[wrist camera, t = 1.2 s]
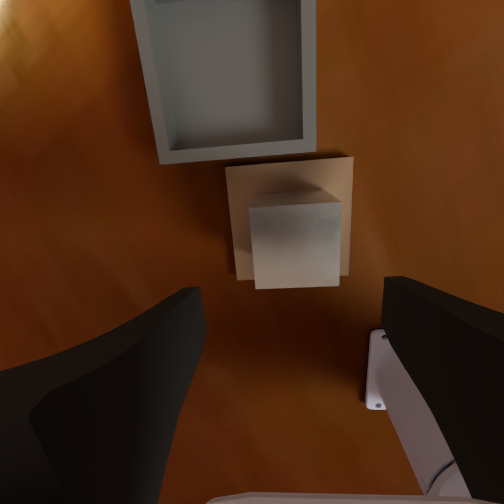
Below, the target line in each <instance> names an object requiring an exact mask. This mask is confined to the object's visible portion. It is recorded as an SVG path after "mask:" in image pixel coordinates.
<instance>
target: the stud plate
mask: <svg viewBox="0 0 504 504" xmlns="http://www.w3.org/2000/svg"><path fill="white" fill-rule="evenodd" d="M225 173H226V182H227V191H228V200H229V209H230V219H231V228H232V237H233V246H234V255H235V265H236V274H237V280H255V277H254V265H253V253H252V242H251V230H250V218H249V206H250V204H251V202H252V199H253V197H254V195H255V194H257V193H271V192H285V191H299V190H313V189H324V190H326V191H327V192H329V193H330V194H331V195H333V196H334V197H336V198H337V199H338V200H340V201H341V202H342V206H341V241H340V276H349V253H350V229H351V205H352V180H353V157H339V158H327V159H314V160H302V161H290V162H278V163H266V164H253V165H241V166H229V167H225Z"/></svg>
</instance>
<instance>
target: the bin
mask: <svg viewBox="0 0 504 504" xmlns="http://www.w3.org/2000/svg"><path fill="white" fill-rule="evenodd" d="M130 5H131V10H132V16H133V21H134V26H135V32H136V37H137V43H138V48H139V54H140V59H141V64H142V70H143V75H144V81H145V86H146V92H147V97H148V102H149V108H150V113H151V119H152V124H153V130H154V135H155V140H156V146H157V151H158V157H159V162H160V165H163V164H174V163H186V162H198V161H210V160H222V159H233V158H245V157H257V156H269V155H281V154H292V153H304V152H316V0H130Z"/></svg>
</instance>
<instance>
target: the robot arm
mask: <svg viewBox="0 0 504 504" xmlns="http://www.w3.org/2000/svg"><path fill="white" fill-rule="evenodd" d="M381 324H382V327H383V329H378V330H374V331H372V332H371V334H370V345H369V358H368V371H367V384H366V397H365V404H366V407H367V408H368V409H375V410H387V412H388V414H389V416H390V419H391V421H392V423H393V426H394V428H395V430H396V432H397V435H398V437H399V439H400V441H401V444H402V446H403V448H404V450H405V453H406V455H407V457H408V460H409V462H410V464H411V466H412V469H413V471H414V473H415V475H416V478H417V480H418V482H419V484H420V487H421V489H422V491H423V494H424V496H410V495H363V494H316V493H268V492H249V493H243V494H237V495H230V496H224V497H217V498H213V499H212V500H210V501H209V502H207V503H206V504H504V313H501V312H498V311H495V310H492V309H489V308H486V307H483V306H480V305H477V304H475V303H472V302H469V301H466V300H464V299H461V298H458V297H456V296H453V295H451V294H448V293H446V292H443V291H441V290H438V289H436V288H433V287H431V286H428V285H426V284H423V283H421V282H418V281H416V280H413V279H410V278H407V277H403V276H393V277H385V278H384V291H383V304H382V317H381ZM206 333H207V326H206V320H205V315H204V309H203V303H202V298H201V292H200V287H187V288H183V289H181V290H179V291H177V292H176V293H174V294H172V295H171V296H169V297H168V298H166V299H165V300H163V301H161V302H160V303H158V304H157V305H155V306H154V307H152V308H150V309H149V310H147V311H145V312H144V313H142V314H140V315H139V316H137V317H135V318H134V319H132V320H130V321H128V322H127V323H125V324H123V325H121V326H119V327H117V328H115V329H113V330H111V331H109V332H107V333H105V334H103V335H101V336H99V337H97V338H94V339H92V340H90V341H87V342H85V343H82V344H80V345H77V346H75V347H72V348H70V349H67V350H65V351H62V352H60V353H57V354H54V355H51V356H48V357H45V358H42V359H39V360H36V361H33V362H30V363H27V364H24V365H20V366H17V367H14V368H10V369H6V370H3V371H0V504H158V500H159V495H160V491H161V486H162V481H163V477H164V473H165V469H166V464H167V460H168V456H169V452H170V448H171V444H172V440H173V436H174V432H175V429H176V425H177V421H178V417H179V414H180V411H181V408H182V405H183V402H184V399H185V397H186V394H187V391H188V389H189V386H190V383H191V381H192V378H193V375H194V373H195V370H196V367H197V365H198V362H199V359H200V357H201V354H202V351H203V347H204V342H205V338H206ZM383 335H386V336H385V337H382V336H383ZM377 403H378V404H377Z"/></svg>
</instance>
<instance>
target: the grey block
mask: <svg viewBox="0 0 504 504" xmlns="http://www.w3.org/2000/svg"><path fill="white" fill-rule="evenodd" d="M341 206H342V202H341V201H340V200H338V199H337V198H336V197H334V196H333V195H331V194H330V193H329V192H327V191H326V190H324V189H313V190H299V191H285V192H271V193H257V194H255V195H254V197H253V199H252V202H251V204H250V206H249V218H250V230H251V242H252V253H253V265H254V277H255V289H272V288H298V287H324V286H339V276H340V241H341Z"/></svg>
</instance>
